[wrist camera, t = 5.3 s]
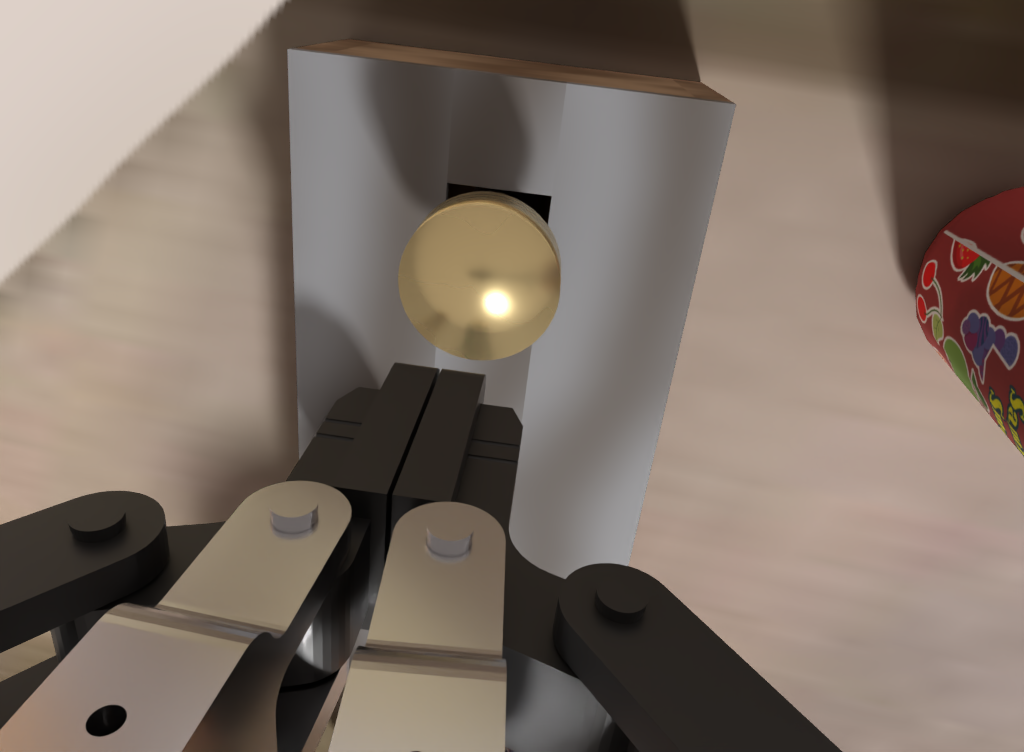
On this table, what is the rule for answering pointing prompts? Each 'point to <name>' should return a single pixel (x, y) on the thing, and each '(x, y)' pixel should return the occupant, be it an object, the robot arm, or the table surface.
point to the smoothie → (980, 305)
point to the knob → (482, 274)
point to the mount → (573, 221)
